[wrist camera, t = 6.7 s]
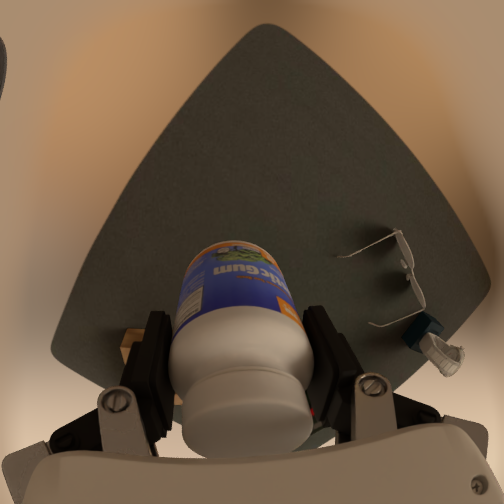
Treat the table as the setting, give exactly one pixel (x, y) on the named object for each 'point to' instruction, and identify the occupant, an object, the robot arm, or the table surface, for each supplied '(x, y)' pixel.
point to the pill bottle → (240, 356)
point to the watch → (433, 344)
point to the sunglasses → (409, 261)
